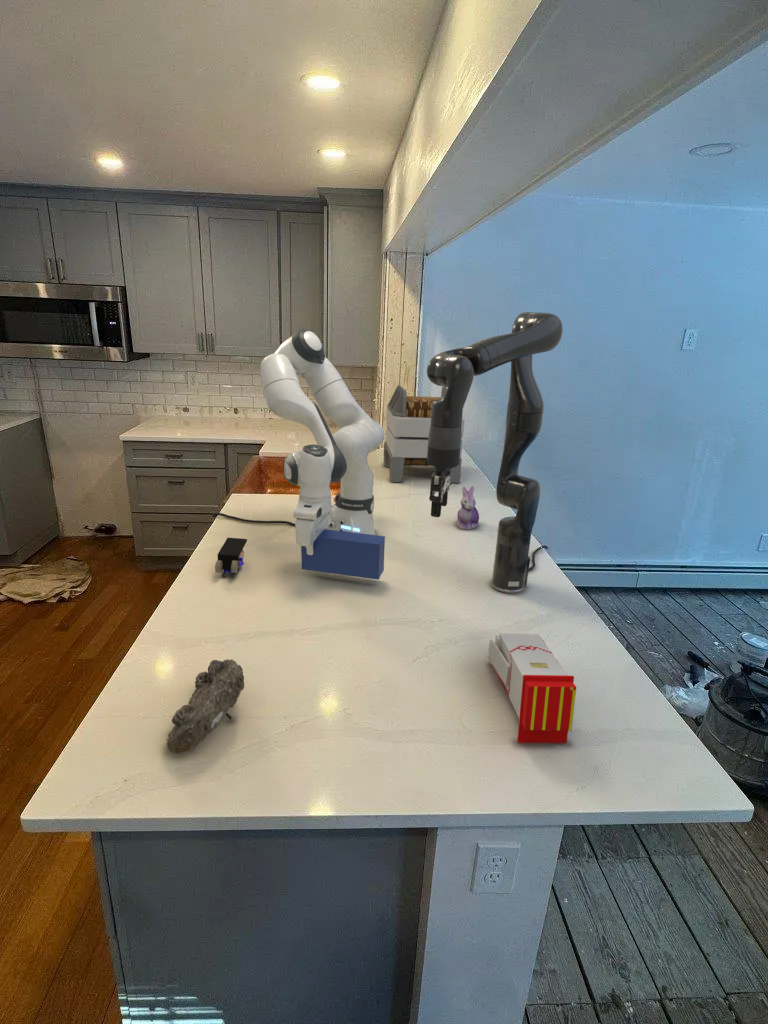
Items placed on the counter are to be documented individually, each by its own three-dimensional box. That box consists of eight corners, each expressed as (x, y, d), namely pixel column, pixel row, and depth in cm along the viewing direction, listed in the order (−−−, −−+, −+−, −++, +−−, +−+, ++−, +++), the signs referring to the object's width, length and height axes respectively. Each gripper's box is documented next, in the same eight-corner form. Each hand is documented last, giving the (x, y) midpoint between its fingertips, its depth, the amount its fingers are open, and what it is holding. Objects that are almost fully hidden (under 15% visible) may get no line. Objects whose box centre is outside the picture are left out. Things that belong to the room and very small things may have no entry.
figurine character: (238, 584, 162) (249, 557, 175) (236, 562, 158) (247, 536, 172) (215, 584, 161) (227, 556, 175) (212, 561, 158) (225, 535, 171)
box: (301, 569, 163) (301, 534, 160) (309, 560, 169) (308, 527, 165) (378, 579, 158) (379, 544, 155) (383, 570, 164) (385, 536, 161)
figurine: (464, 532, 204) (468, 492, 199) (449, 522, 212) (452, 484, 207) (486, 528, 208) (490, 489, 203) (469, 519, 216) (473, 481, 211)
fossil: (192, 660, 117) (244, 628, 112) (224, 691, 120) (276, 661, 115) (142, 746, 98) (202, 712, 93) (182, 779, 101) (242, 748, 96)
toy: (536, 617, 130) (585, 683, 100) (531, 671, 132) (578, 750, 103) (483, 616, 129) (518, 682, 100) (479, 670, 132) (511, 749, 103)
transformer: (382, 463, 289) (386, 382, 275) (445, 464, 293) (451, 384, 279) (390, 482, 257) (394, 392, 243) (460, 483, 261) (468, 394, 247)
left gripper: (317, 491, 169) (317, 534, 174) (290, 513, 150) (291, 561, 155) (337, 494, 168) (336, 537, 172) (313, 516, 149) (313, 564, 154)
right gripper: (455, 453, 123) (449, 522, 128) (465, 439, 136) (459, 503, 141) (421, 449, 125) (417, 518, 130) (434, 436, 137) (429, 500, 143)
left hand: (315, 548), depth 163 cm, fingers closed on box, 6 cm apart
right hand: (438, 510), depth 136 cm, fingers open, 8 cm apart
